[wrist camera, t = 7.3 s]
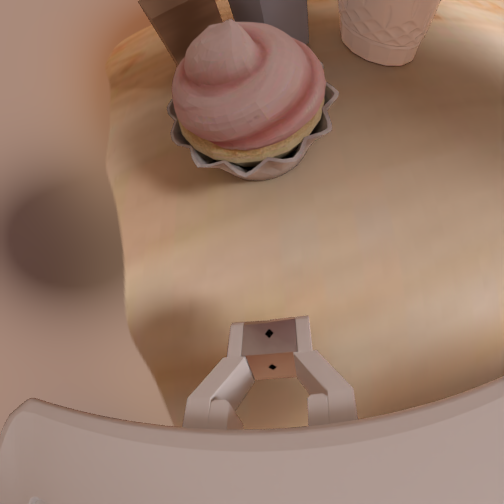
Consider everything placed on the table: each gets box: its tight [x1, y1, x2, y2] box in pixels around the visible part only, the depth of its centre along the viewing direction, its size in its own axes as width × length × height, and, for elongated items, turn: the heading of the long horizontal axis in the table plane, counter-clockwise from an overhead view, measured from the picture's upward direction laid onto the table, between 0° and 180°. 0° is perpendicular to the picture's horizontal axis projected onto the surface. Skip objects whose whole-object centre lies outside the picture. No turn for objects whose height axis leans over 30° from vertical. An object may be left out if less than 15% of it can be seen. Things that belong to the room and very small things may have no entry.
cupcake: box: [167, 19, 339, 180], centre depth 14 cm, size 9×9×10 cm
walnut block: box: [138, 0, 222, 67], centre depth 16 cm, size 4×4×8 cm
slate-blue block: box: [228, 0, 309, 44], centre depth 16 cm, size 4×4×8 cm
